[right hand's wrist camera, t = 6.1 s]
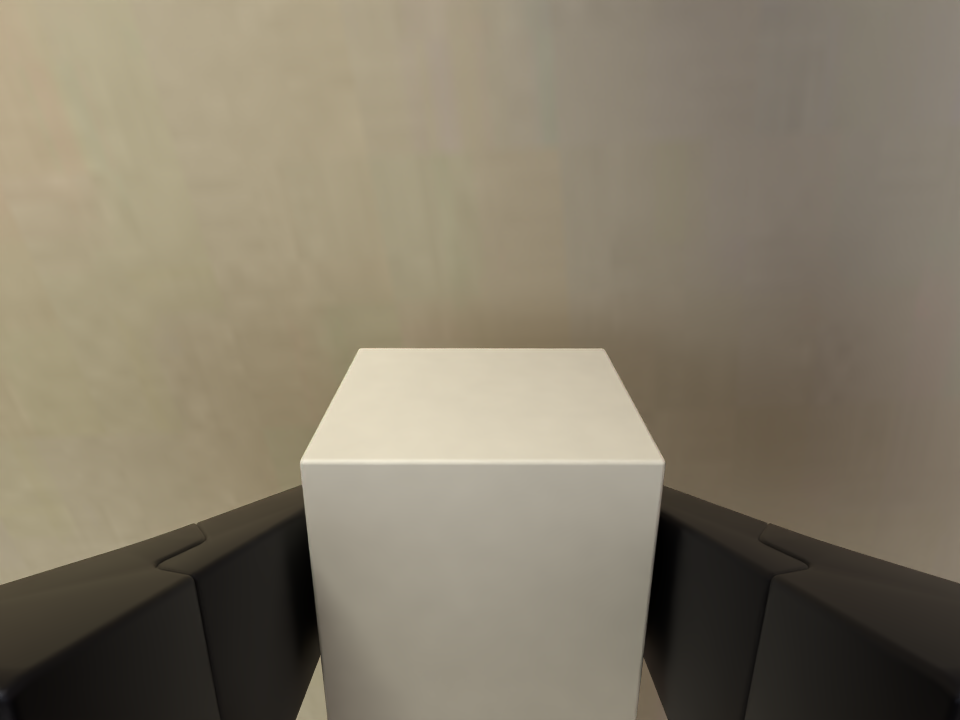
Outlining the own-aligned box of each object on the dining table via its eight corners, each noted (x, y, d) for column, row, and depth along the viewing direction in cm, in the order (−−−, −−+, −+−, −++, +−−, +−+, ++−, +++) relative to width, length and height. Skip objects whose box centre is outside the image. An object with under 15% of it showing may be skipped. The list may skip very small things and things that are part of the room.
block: (374, 577, 13) (330, 765, 10) (358, 347, 12) (297, 461, 8) (588, 578, 13) (632, 765, 10) (605, 347, 12) (667, 461, 8)
